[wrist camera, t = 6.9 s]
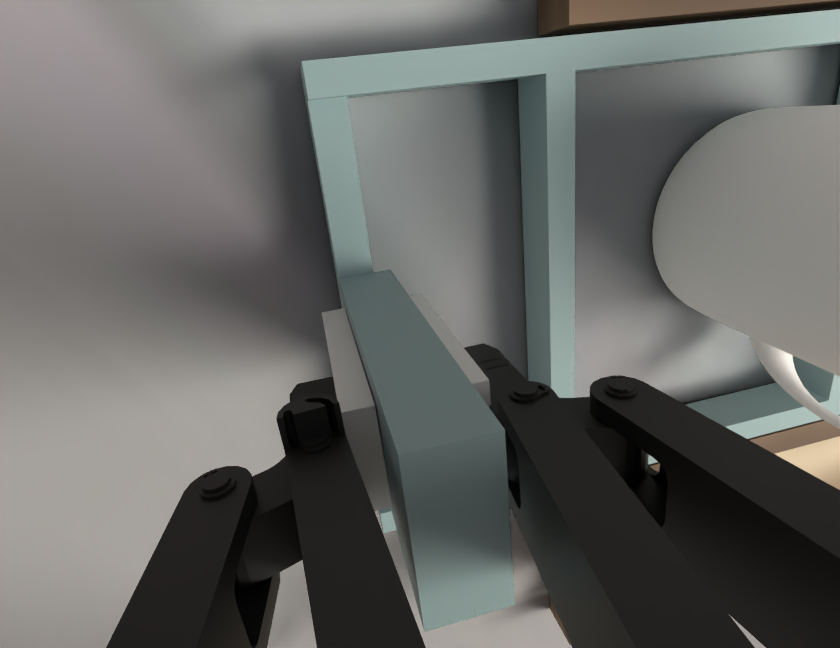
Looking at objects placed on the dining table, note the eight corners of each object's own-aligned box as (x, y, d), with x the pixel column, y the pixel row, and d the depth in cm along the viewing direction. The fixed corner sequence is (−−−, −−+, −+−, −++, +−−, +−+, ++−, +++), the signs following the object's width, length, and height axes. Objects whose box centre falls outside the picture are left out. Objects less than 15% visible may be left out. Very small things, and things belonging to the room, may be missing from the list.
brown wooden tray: (537, -4, 18) (569, -21, 16) (1068, -47, 22) (1146, -65, 20) (550, 609, 29) (569, 645, 27) (904, 501, 33) (943, 526, 31)
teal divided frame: (299, 68, 17) (324, -39, 6) (873, 11, 21) (1529, -116, 10) (375, 498, 23) (454, 829, 12) (801, 392, 27) (1147, 572, 16)
